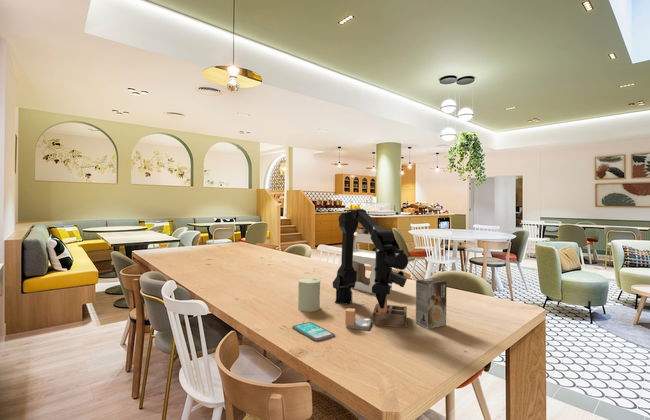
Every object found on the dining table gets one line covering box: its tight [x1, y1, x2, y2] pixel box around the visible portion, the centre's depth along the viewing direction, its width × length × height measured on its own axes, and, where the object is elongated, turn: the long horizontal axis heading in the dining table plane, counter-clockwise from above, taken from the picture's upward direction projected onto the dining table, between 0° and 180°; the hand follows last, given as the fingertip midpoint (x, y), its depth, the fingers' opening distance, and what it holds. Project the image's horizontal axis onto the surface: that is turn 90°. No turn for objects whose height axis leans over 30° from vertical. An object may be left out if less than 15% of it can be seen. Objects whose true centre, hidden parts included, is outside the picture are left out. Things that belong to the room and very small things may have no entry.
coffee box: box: [415, 277, 447, 330], centre depth 119 cm, size 9×6×16 cm
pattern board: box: [344, 307, 373, 331], centre depth 118 cm, size 8×8×6 cm
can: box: [297, 277, 321, 313], centre depth 136 cm, size 9×9×12 cm
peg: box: [377, 295, 388, 313], centre depth 121 cm, size 3×3×8 cm
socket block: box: [372, 303, 408, 328], centre depth 123 cm, size 12×12×4 cm
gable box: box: [353, 233, 393, 295], centre depth 171 cm, size 22×13×28 cm, turn 43°
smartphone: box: [292, 321, 336, 343], centre depth 111 cm, size 9×1×15 cm
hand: (382, 306), depth 121 cm, fingers closed on peg, 3 cm apart
